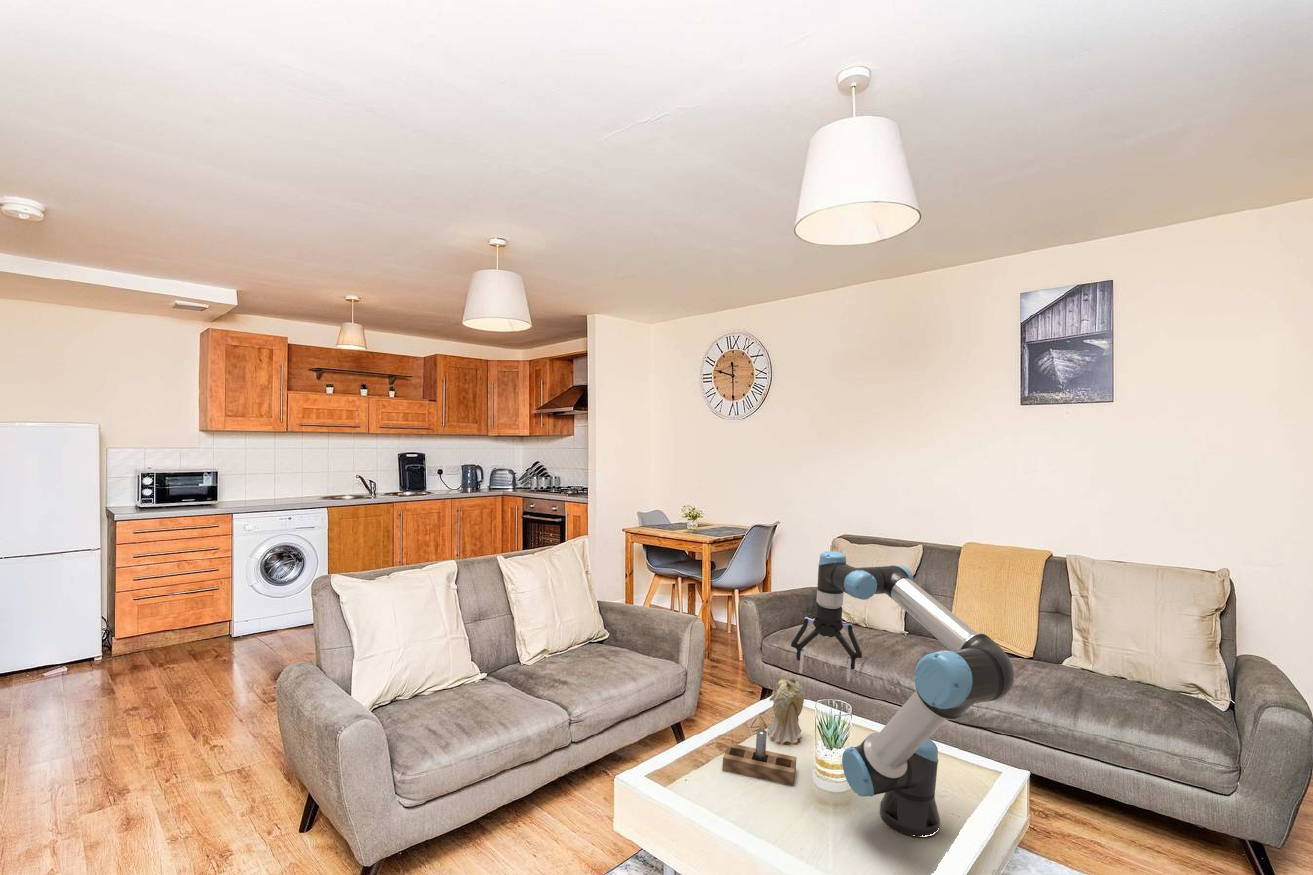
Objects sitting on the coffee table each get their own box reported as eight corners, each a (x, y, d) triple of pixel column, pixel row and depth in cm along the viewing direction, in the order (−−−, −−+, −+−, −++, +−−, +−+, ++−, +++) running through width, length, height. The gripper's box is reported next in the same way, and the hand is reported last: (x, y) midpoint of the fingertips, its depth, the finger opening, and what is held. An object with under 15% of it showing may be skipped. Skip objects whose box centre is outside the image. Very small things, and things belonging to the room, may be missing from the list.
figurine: (769, 725, 224) (773, 668, 222) (803, 732, 220) (807, 675, 219) (763, 741, 212) (767, 682, 211) (799, 749, 208) (804, 689, 207)
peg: (765, 768, 196) (767, 730, 196) (763, 773, 194) (766, 735, 193) (755, 766, 197) (757, 728, 197) (753, 771, 194) (756, 733, 194)
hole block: (795, 769, 197) (796, 757, 196) (792, 785, 188) (793, 772, 188) (727, 755, 203) (728, 742, 203) (722, 770, 194) (723, 757, 194)
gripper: (873, 607, 189) (868, 677, 191) (787, 595, 197) (783, 663, 198) (874, 614, 182) (868, 687, 183) (785, 602, 190) (780, 672, 191)
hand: (824, 675), depth 191 cm, fingers open, 13 cm apart
